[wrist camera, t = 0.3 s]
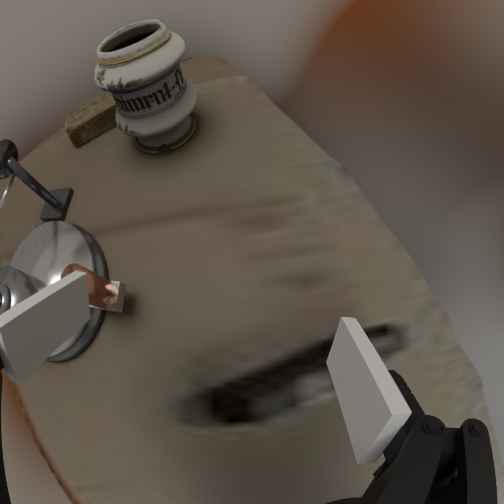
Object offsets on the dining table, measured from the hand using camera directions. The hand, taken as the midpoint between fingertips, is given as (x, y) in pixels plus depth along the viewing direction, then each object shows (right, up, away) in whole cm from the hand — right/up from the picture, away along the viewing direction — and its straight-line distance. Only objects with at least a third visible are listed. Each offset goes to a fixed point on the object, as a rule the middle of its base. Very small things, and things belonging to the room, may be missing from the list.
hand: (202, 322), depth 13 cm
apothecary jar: (-11, +22, +25) cm, 35 cm away
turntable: (-22, -1, +15) cm, 27 cm away
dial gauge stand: (-28, +9, +21) cm, 36 cm away
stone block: (-25, +26, +27) cm, 45 cm away
